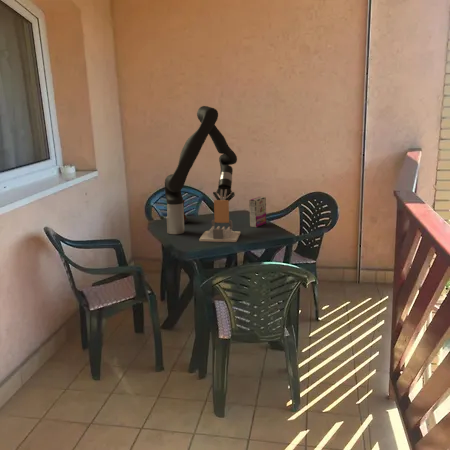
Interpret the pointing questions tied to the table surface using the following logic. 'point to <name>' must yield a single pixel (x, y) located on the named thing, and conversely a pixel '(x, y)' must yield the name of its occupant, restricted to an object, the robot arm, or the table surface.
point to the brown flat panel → (221, 211)
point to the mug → (184, 214)
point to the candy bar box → (257, 211)
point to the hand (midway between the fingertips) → (222, 206)
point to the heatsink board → (225, 235)
